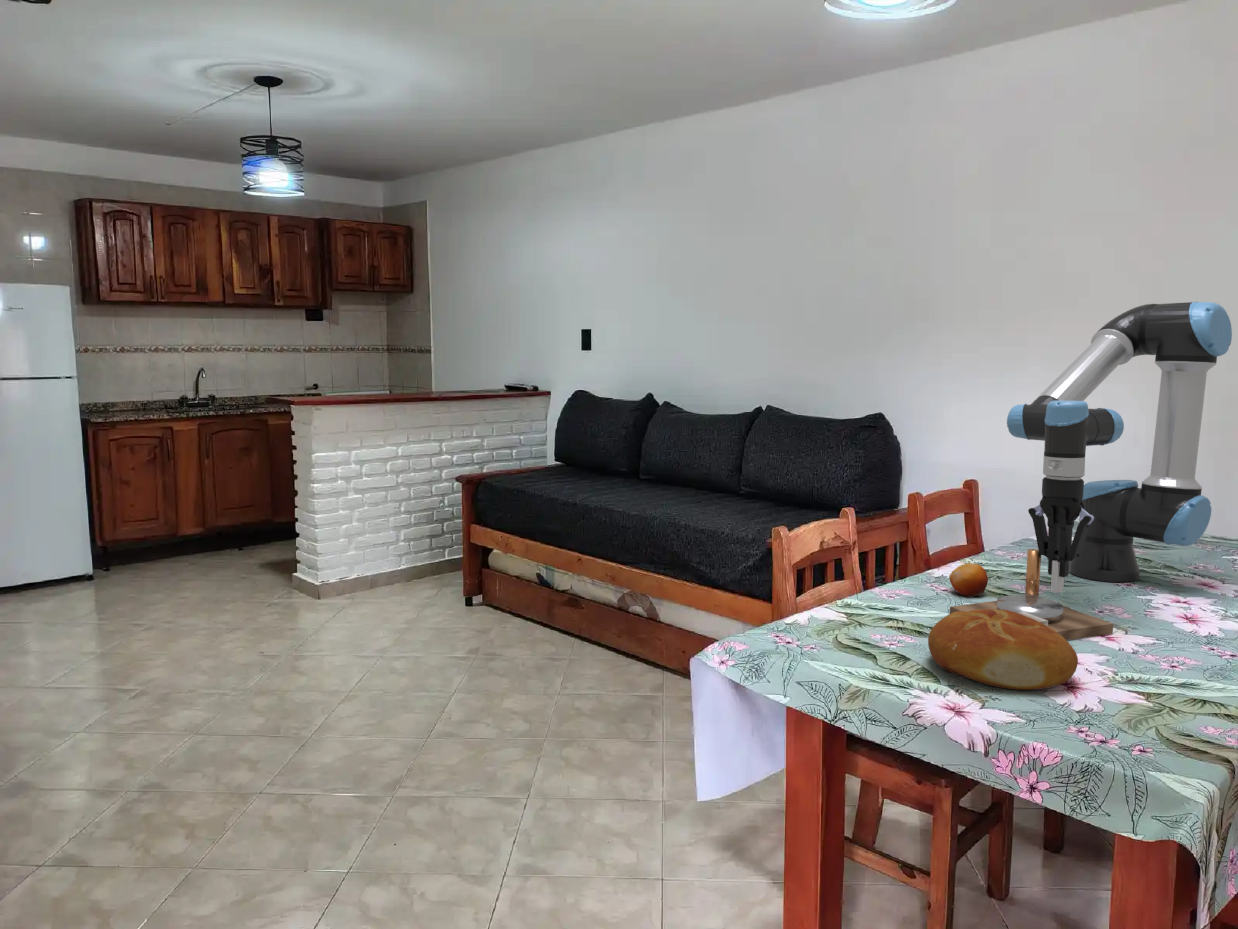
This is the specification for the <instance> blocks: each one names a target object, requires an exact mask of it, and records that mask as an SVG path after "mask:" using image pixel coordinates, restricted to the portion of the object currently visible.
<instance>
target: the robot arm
mask: <svg viewBox="0 0 1238 929" xmlns="http://www.w3.org/2000/svg"><path fill="white" fill-rule="evenodd" d="M1232 337H1233V328H1232V323H1231V319H1230V316H1229V315H1228V313H1227V310H1226V308H1224V307H1223V306H1222V305H1220V304H1219V303H1216V302H1208V301H1207V302H1205V301H1191V302H1173V303H1171V302H1170V303H1147V304H1142V305H1139V306H1136V307H1133V308H1131V309H1129V310H1126V311H1125V312H1122V313H1121V314H1119V315H1117V316H1115V317H1114V318H1113V319H1111V320H1109V321H1108V322H1107V323H1105V324H1104V325H1103V326H1102V327H1101V328H1099V329H1098V330H1097V331H1096V332H1095V333H1094V335H1093V336H1092V338H1091V340H1090V345H1089V346H1088V347H1086V349H1085V350H1083V352H1082V353H1081V354H1080V355H1079V356H1078V357H1077V358H1076V359H1075V360H1074V361H1073V362H1071V363H1070V364H1069V365H1068V366H1067V368H1066V369H1064V370H1063V372H1062V373H1060V375H1059V376H1058V377H1057V378H1056V379H1055V380H1053V381H1052V382H1051V384H1050V385H1049V386H1047V387H1046V388H1045V389H1044V391H1042V392H1041V393H1040V395H1038V396H1037V398H1036V399H1035V400H1034V401H1032V402H1031V403H1030V404H1027V403H1023V404H1017V405H1014V406H1013V407H1011V409H1010V410H1009V412H1008V413H1007V417H1006V427H1007V428H1008V433H1009V434H1010V435H1011V436H1012V437H1015V438H1017V439H1018V438H1019V439H1026V440H1028V441H1044V451H1043V464H1042V466H1043V468H1042V474H1043V475H1044V476H1045V477H1043V478H1042V480H1041V482H1042V484H1041V496H1042V498H1041V499H1040V500H1039V504H1038V505H1036V506H1035V507H1030V508H1029V509H1028V510H1027V512H1028V514H1029V516H1030V517H1031V519H1032V524H1033V529H1034V532H1035V538H1036V539H1035V540H1036V544H1037V549H1038V550H1039V554H1040V555H1041V556H1043V557H1046V558H1047V560H1048V562H1047V574H1048V575H1050V576H1051V579H1050V593H1055V594H1058V593H1061V592H1064V586H1065V578H1066V577H1068V576H1069V573H1070V574H1072V575H1074V576H1077V577H1080V578H1083V579H1087V580H1092V581H1101V582H1108V583H1110V582H1111V583H1129V582H1135V581H1138V580H1139V579H1140V570H1141V569H1140V566H1139V565H1138V561H1137V556H1136V552H1135V548H1134V538H1135V539H1141V540H1148V541H1154V542H1159V543H1162V544H1163V543H1164V544H1166V545H1169V546H1170V545H1177V546H1185V547H1187V546H1190V545H1193V544H1195V543H1196V542H1198V541H1199V540H1200V539H1201V537H1202V536H1203V535H1204V534H1205V532H1206V531H1207V529H1208V526H1209V524H1210V520H1211V516H1212V505H1211V501H1210V499H1209V498H1208V497H1207V496H1205V495H1202V490H1203V487H1202V485H1201V484H1200V482H1198V481H1197V480H1196V471H1197V464H1198V456H1199V455H1198V454H1199V453H1198V452H1199V445H1200V439H1201V436H1200V435H1201V427H1202V421H1203V420H1202V418H1203V410H1204V404H1205V402H1204V401H1205V391H1206V385H1207V384H1206V383H1207V377H1208V376H1207V375H1208V372H1209V370H1211V369H1212V368H1214V367H1215V366H1216V365H1217V362H1218V361H1217V360H1218V357H1222V356H1224V355H1225V354H1226V353H1227V352H1228V351H1229V349H1230V348H1229V347H1230V346H1231V344H1232V339H1233V338H1232ZM1148 355H1149V356H1155V359H1154V363H1155V365H1156V366H1157V367H1158V368H1159V369H1160V370H1161V373H1160V384H1159V394H1158V403H1157V411H1156V412H1157V413H1156V419H1155V420H1156V422H1155V430H1154V439H1153V446H1152V448H1153V449H1152V450H1153V451H1152V456H1151V466H1150V467H1151V468H1150V475H1149V476H1147V478H1144V479H1143V480H1142V481H1141V487H1140V488H1139V483H1138V481H1137V480H1133V479H1108V480H1107V479H1106V480H1105V479H1104V480H1095V481H1089V482H1086V483H1085V481H1084V480H1083V477H1084V476H1085V475H1086V474H1085V472H1086V471H1085V470H1086V469H1085V468H1086V450H1087V447H1091V446H1092V447H1093V446H1105V445H1108V444H1113V443H1115V442H1116V441H1117V440H1119V439H1120V438H1121V437H1122V435H1123V433H1124V429H1125V424H1124V419H1123V418H1122V416H1121V415H1120V414H1119V413H1118V412H1117V411H1116V410H1114V409H1112V408H1106V407H1104V408H1103V407H1097V408H1089V404H1088V403H1087V402H1086V401H1085V400H1086V399H1087V398H1088V397H1089V396H1090V395H1091V394H1092V393H1093V391H1095V390H1096V389H1097V388H1098V387H1099V386H1100V384H1102V383H1103V381H1105V379H1107V377H1109V376H1110V374H1111V373H1112V372H1113V371H1114V370H1116V368H1117V367H1118V366H1121V365H1125V364H1126V363H1128V362H1129V361H1131V360H1132V358H1135V357H1138V356H1148ZM1044 516H1046V518H1047V524H1046V518H1045V517H1044ZM1077 519H1078V521H1079V522H1078V524H1077V528H1076V529H1075V530H1076V531H1075V533H1074V535H1073V528H1074V527H1075V522H1076V520H1077ZM1047 527H1048V530H1047Z"/></svg>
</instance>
